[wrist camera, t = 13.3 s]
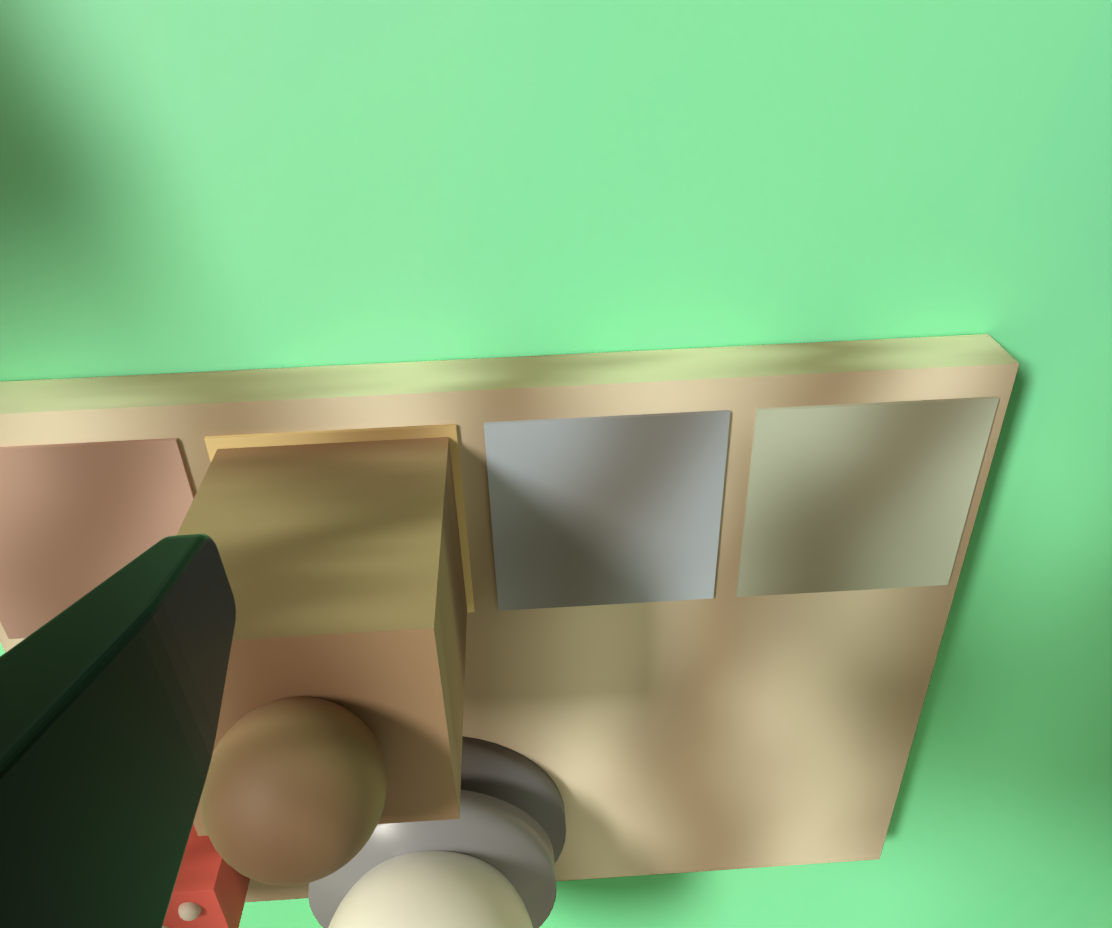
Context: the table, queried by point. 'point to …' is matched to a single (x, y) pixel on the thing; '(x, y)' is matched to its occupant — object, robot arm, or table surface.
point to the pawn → (333, 650)
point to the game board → (597, 569)
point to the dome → (445, 873)
